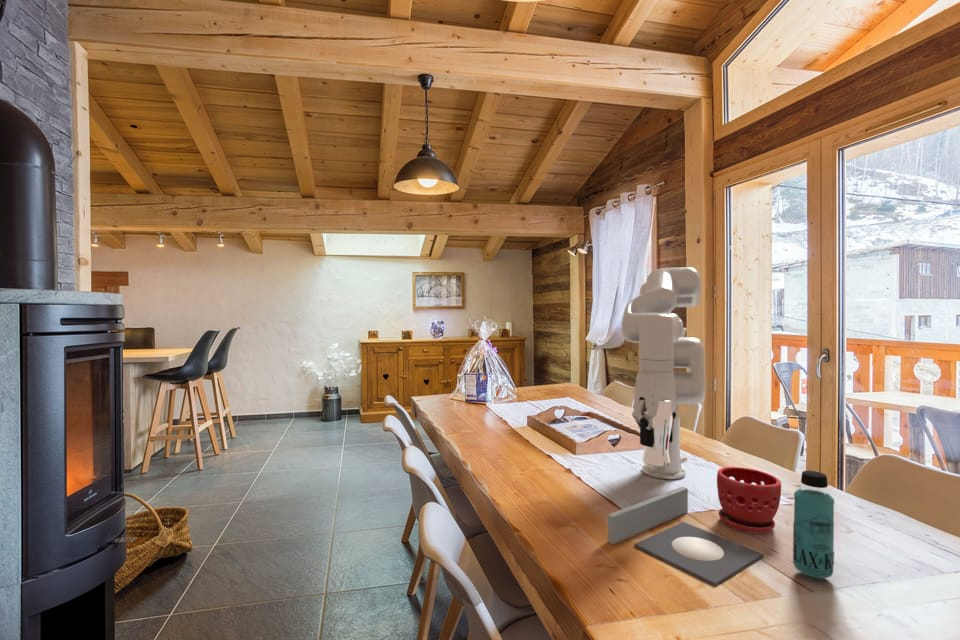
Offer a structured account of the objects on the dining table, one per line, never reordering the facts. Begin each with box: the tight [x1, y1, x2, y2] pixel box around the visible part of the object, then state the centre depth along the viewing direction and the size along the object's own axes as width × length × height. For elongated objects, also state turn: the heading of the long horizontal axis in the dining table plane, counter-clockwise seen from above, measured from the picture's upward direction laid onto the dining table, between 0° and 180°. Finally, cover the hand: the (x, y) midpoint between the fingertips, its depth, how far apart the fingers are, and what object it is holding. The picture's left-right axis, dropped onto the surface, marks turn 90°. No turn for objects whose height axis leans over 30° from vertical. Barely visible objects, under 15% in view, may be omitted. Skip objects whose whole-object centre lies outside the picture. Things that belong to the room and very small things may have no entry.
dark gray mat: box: [634, 521, 764, 587], centre depth 100 cm, size 18×18×1 cm
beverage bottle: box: [791, 470, 835, 579], centre depth 90 cm, size 6×7×20 cm
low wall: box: [607, 486, 689, 545], centre depth 112 cm, size 28×2×6 cm, turn 124°
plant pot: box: [716, 466, 782, 534], centre depth 111 cm, size 13×13×12 cm
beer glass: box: [642, 399, 672, 466], centre depth 111 cm, size 7×7×15 cm
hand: (656, 442), depth 111 cm, fingers closed on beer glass, 6 cm apart
